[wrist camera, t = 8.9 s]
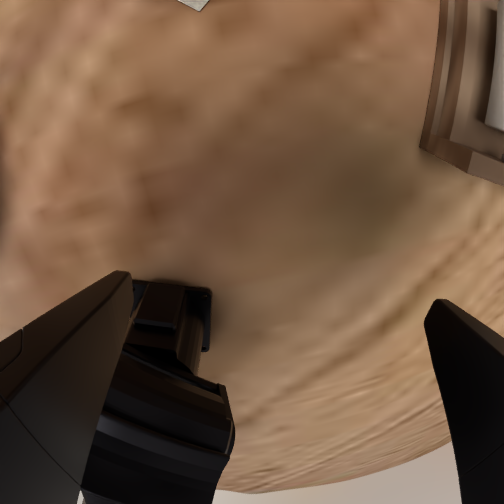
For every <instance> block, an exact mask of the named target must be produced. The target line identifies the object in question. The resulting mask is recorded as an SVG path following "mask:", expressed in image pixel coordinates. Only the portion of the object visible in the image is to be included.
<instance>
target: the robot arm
mask: <svg viewBox="0 0 504 504" xmlns="http://www.w3.org/2000/svg"><path fill="white" fill-rule="evenodd" d="M133 287H134V288H133ZM203 295H207V297H204V296H203ZM211 303H212V293H211V291H210V290H208V289H205V288H195V287H186V286H178V285H169V284H160V283H152V282H143V281H134V280H132V277H131V274H130V273H129V272H126V271H119V270H116V271H114V272H112V273H110V274H109V275H107V276H105V277H104V278H102V279H100V280H98V281H97V282H95V283H93V284H92V285H90V286H88V287H87V288H85V289H83V290H82V291H80V292H79V293H77V294H75V295H74V296H72V297H70V298H69V299H67V300H65V301H64V302H62V303H61V304H59V305H57V306H56V307H54V308H53V309H51V310H49V311H48V312H46V313H45V314H43V315H41V316H40V317H38V318H37V319H35V320H34V321H32V322H30V323H29V324H27V325H26V326H24V327H23V330H22V329H20V330H18V331H17V332H15V333H14V334H12V335H10V336H9V337H7V338H6V339H4V340H3V341H1V342H0V504H77V500H78V496H79V492H80V490H81V491H82V494H83V497H84V499H83V503H82V504H212V501H213V497H214V493H215V490H216V486H217V483H218V481H219V478H220V476H221V473H222V471H223V470H224V468H225V466H226V464H227V463H228V461H229V459H230V454H231V452H232V449H233V446H234V441H235V426H234V422H233V417H232V413H231V409H230V405H229V400H228V396H227V392H226V387H225V386H224V385H221V384H219V383H217V384H215V383H213V382H210V381H208V380H205V379H203V378H200V377H198V376H197V375H198V368H199V361H200V354H201V352H207V351H208V350H209V346H210V324H211ZM129 319H130V321H129ZM424 328H425V333H426V337H427V341H428V346H429V350H430V355H431V360H432V364H433V368H434V372H435V375H436V379H437V382H438V386H439V389H440V393H441V397H442V401H443V405H444V409H445V413H446V417H447V421H448V425H449V430H450V434H451V439H452V444H453V448H454V454H455V459H456V465H457V471H458V477H459V485H460V493H461V500H462V504H504V338H503V337H502V336H500V335H499V334H497V333H496V332H495V331H493V330H492V329H490V328H489V327H487V326H486V325H485V324H483V323H482V322H480V321H479V320H477V319H476V318H474V317H473V316H471V315H470V314H468V313H467V312H465V311H464V310H462V309H461V308H459V307H458V306H456V305H455V304H453V303H452V302H450V301H449V300H447V299H436V300H435V301H434V302H433V304H432V306H431V308H430V310H429V311H428V313H427V315H426V317H425V320H424ZM203 346H204V347H203Z"/></svg>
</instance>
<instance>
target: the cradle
mask: <svg viewBox="0 0 504 504" xmlns="http://www.w3.org/2000/svg"><path fill="white" fill-rule="evenodd" d="M499 1H500V0H441V4H440V19H439V31H438V41H437V50H436V58H435V66H434V73H433V79H432V85H431V91H430V97H429V103H428V108H427V113H426V118H425V123H424V128H423V132H422V137H421V141H420V146H419V147H420V148H422V149H424V150H426V151H428V152H430V153H431V154H433V155H435V156H437V157H439V158H441V159H443V160H445V161H446V162H448V163H450V164H452V165H454V166H455V167H457V168H459V169H461V170H462V171H464V172H466V173H468V174H471V175H474V176H477V177H480V178H483V179H485V180H488V181H491V182H494V183H496V184H499V185H502V186H504V134H503V133H501V132H499V131H497V130H495V129H493V128H491V127H489V126H487V125H486V124H484V123H485V118H486V113H487V108H488V102H489V96H490V90H491V83H492V76H493V67H494V58H495V46H496V30H497V3H498V2H499Z"/></svg>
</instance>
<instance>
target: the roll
mask: <svg viewBox="0 0 504 504" xmlns="http://www.w3.org/2000/svg"><path fill="white" fill-rule="evenodd" d="M484 124H486V125H487V126H489V127H491V128H493V129H495V130H497V131H499V132H501V133H503V134H504V0H500V1H499V2H498V3H497V30H496V46H495V58H494V67H493V76H492V83H491V90H490V96H489V102H488V108H487V113H486V118H485V123H484Z"/></svg>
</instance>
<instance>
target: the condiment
mask: <svg viewBox="0 0 504 504" xmlns="http://www.w3.org/2000/svg"><path fill="white" fill-rule="evenodd" d="M178 1H180V2H182V3H184V4H186V5H188V6H190V7H192V8H194V9H195V10H197V11H200V10H201V9H202V8H203V7H204V5H205V4H206V3H207V2H208V1H209V0H178Z"/></svg>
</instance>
